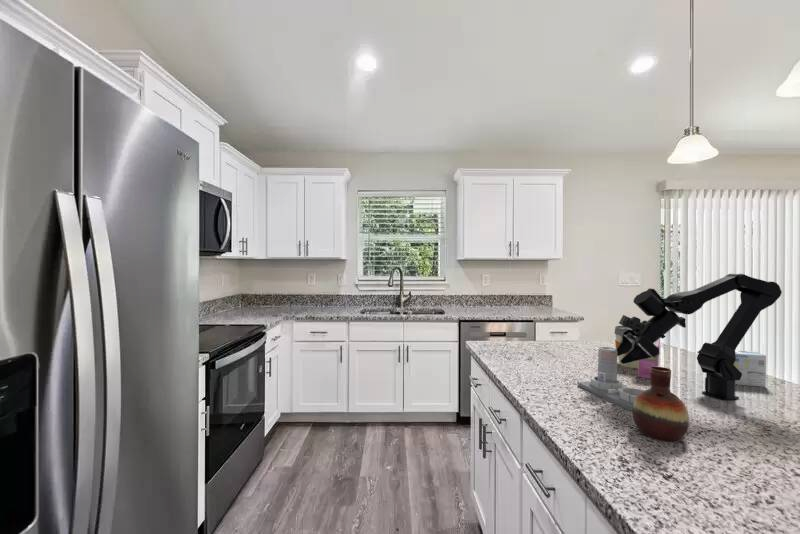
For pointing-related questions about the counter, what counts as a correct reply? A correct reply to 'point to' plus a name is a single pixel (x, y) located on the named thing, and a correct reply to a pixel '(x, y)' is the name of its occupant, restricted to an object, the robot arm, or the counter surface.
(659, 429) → the vase
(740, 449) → the counter surface
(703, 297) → the robot arm
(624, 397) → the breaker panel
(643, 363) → the box
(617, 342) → the reusable coffee cup
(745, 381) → the light bulb box
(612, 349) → the energy drink
